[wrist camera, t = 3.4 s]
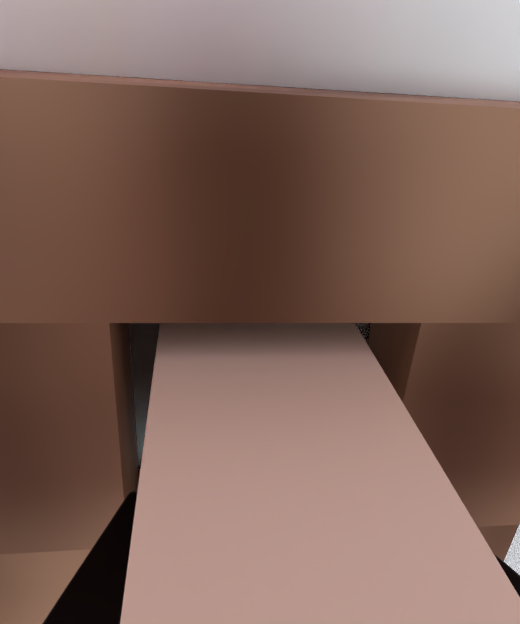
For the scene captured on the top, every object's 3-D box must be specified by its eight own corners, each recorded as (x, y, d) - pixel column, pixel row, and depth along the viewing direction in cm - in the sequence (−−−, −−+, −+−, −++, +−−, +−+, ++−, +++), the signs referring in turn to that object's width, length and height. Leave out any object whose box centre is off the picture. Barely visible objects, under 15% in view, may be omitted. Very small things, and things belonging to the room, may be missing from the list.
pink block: (343, 303, 12) (718, 925, 4) (322, 441, 14) (527, 1063, 5) (162, 303, 12) (64, 1045, 3) (166, 446, 14) (116, 1149, 5)
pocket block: (588, 106, 11) (689, 118, 9) (442, 545, 17) (479, 618, 15) (-115, 61, 9) (-216, 64, 7) (11, 572, 15) (-21, 660, 13)
